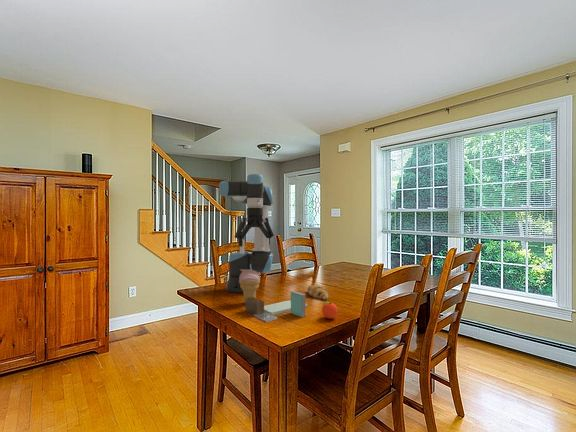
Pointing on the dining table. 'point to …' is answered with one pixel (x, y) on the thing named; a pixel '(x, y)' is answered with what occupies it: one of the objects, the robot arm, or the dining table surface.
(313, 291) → the croissant
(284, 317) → the dining table surface
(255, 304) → the brown grey long block
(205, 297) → the dining table surface
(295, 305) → the tile
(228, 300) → the dining table surface
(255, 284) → the ice cream cone
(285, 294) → the dining table surface
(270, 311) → the board
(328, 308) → the clementine
